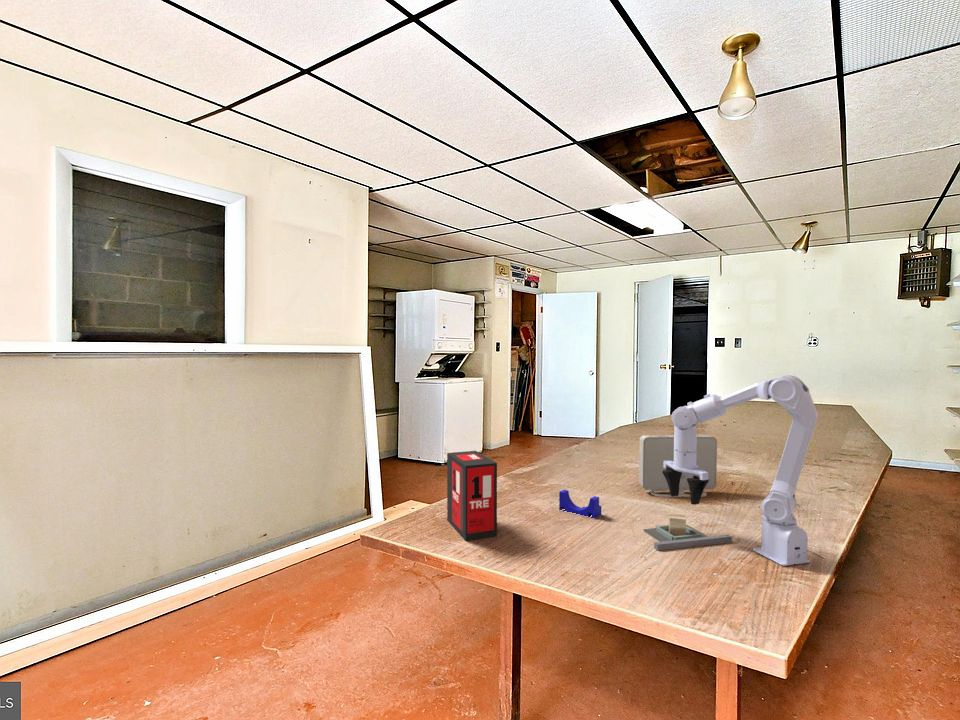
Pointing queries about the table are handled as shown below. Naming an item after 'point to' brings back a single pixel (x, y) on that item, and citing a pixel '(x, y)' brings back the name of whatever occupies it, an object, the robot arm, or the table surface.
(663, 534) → the keeper cradle
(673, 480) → the robot arm
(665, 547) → the rail
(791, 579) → the table surface
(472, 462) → the cleaning product box
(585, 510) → the blue notched block
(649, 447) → the network device
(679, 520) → the block
